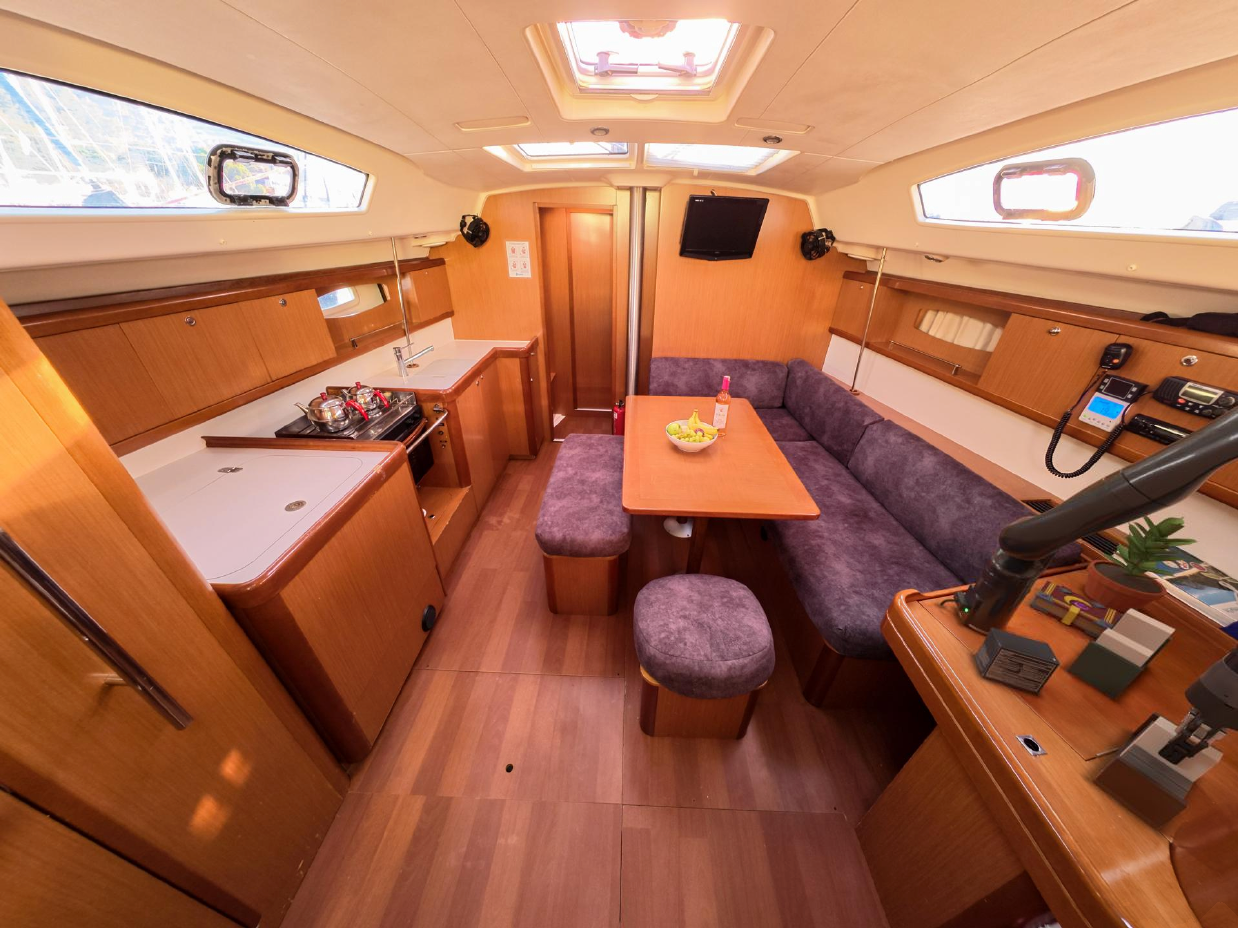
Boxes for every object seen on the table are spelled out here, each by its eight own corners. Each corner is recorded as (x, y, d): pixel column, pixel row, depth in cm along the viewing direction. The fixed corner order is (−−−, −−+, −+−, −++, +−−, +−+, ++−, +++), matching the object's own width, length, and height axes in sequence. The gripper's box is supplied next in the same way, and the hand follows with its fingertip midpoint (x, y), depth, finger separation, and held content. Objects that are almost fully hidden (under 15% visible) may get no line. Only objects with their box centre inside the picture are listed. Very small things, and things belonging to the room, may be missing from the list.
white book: (1171, 798, 72) (1218, 762, 66) (1115, 759, 77) (1155, 723, 72) (1177, 790, 73) (1223, 753, 67) (1121, 752, 78) (1160, 715, 73)
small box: (1026, 672, 95) (1049, 642, 90) (1038, 696, 90) (1063, 665, 85) (972, 655, 99) (991, 625, 94) (980, 677, 93) (1001, 646, 89)
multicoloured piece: (1114, 699, 89) (1150, 661, 83) (1067, 670, 96) (1097, 632, 90) (1145, 666, 97) (1180, 629, 91) (1100, 641, 104) (1129, 604, 98)
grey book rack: (1156, 830, 68) (1187, 806, 65) (1092, 781, 75) (1117, 757, 71) (1192, 774, 76) (1221, 750, 73) (1131, 734, 83) (1155, 711, 79)
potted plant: (1122, 588, 122) (1187, 505, 108) (1161, 625, 109) (1241, 536, 95) (1060, 575, 126) (1115, 494, 113) (1091, 609, 113) (1157, 523, 100)
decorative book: (1039, 590, 120) (1048, 577, 118) (1118, 627, 108) (1129, 613, 106) (1028, 606, 114) (1037, 593, 112) (1110, 646, 102) (1122, 633, 100)
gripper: (1214, 658, 70) (1152, 717, 78) (1188, 691, 64) (1124, 751, 72) (1290, 696, 64) (1215, 756, 72) (1269, 735, 58) (1190, 796, 66)
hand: (1170, 753), depth 72 cm, fingers closed on white book, 3 cm apart
